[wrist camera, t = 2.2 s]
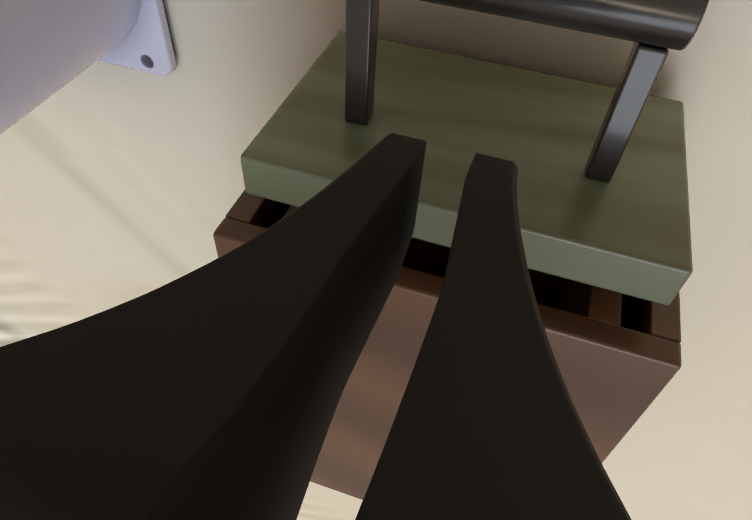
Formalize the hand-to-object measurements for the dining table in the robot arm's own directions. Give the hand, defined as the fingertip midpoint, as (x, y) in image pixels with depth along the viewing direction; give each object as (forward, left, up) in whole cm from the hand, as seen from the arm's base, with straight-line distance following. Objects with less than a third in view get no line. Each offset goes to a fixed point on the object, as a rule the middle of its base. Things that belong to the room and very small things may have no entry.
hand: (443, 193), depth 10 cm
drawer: (0, -6, -9) cm, 11 cm away
